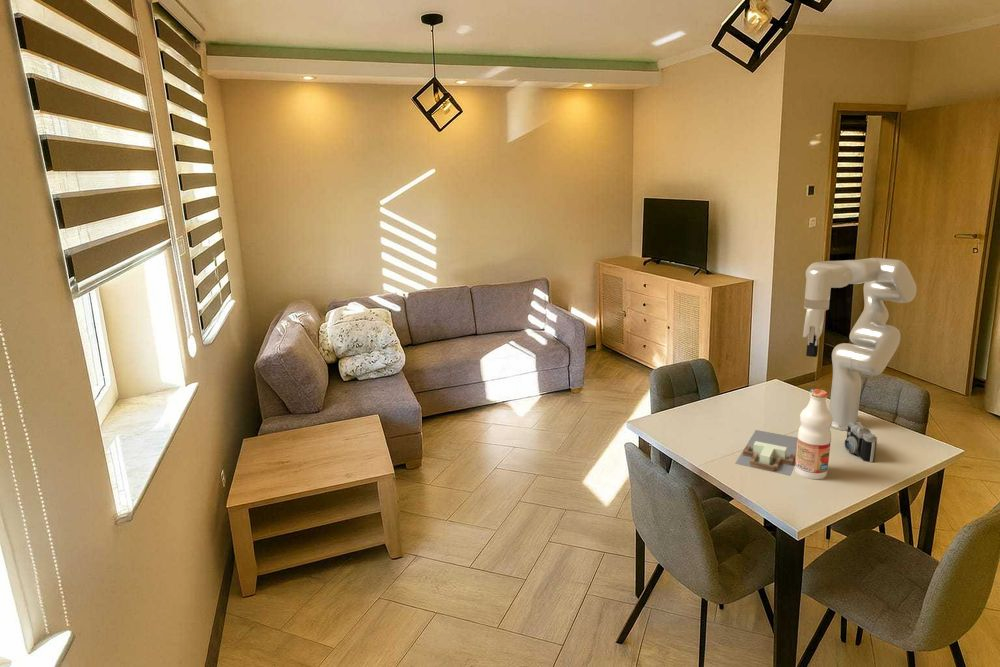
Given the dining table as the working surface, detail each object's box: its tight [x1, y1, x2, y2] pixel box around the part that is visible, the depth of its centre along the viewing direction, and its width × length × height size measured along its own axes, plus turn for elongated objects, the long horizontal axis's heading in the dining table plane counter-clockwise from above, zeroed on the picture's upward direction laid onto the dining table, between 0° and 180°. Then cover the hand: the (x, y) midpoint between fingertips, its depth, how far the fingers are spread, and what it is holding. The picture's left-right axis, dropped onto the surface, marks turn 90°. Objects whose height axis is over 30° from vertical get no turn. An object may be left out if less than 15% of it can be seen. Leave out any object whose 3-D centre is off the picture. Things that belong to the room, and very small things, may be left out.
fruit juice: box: [794, 388, 832, 480], centre depth 192 cm, size 9×9×28 cm
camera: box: [844, 422, 878, 463], centre depth 207 cm, size 15×7×10 cm, turn 175°
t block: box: [753, 441, 787, 465], centre depth 204 cm, size 10×10×4 cm
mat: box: [734, 429, 797, 477], centre depth 211 cm, size 31×17×1 cm, turn 146°
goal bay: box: [742, 444, 795, 473], centre depth 204 cm, size 13×15×2 cm
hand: (811, 355), depth 209 cm, fingers closed
